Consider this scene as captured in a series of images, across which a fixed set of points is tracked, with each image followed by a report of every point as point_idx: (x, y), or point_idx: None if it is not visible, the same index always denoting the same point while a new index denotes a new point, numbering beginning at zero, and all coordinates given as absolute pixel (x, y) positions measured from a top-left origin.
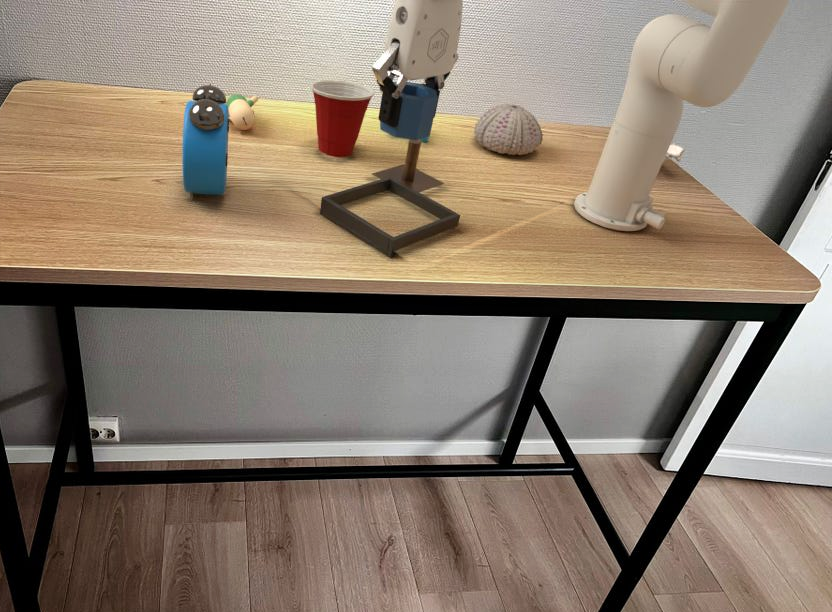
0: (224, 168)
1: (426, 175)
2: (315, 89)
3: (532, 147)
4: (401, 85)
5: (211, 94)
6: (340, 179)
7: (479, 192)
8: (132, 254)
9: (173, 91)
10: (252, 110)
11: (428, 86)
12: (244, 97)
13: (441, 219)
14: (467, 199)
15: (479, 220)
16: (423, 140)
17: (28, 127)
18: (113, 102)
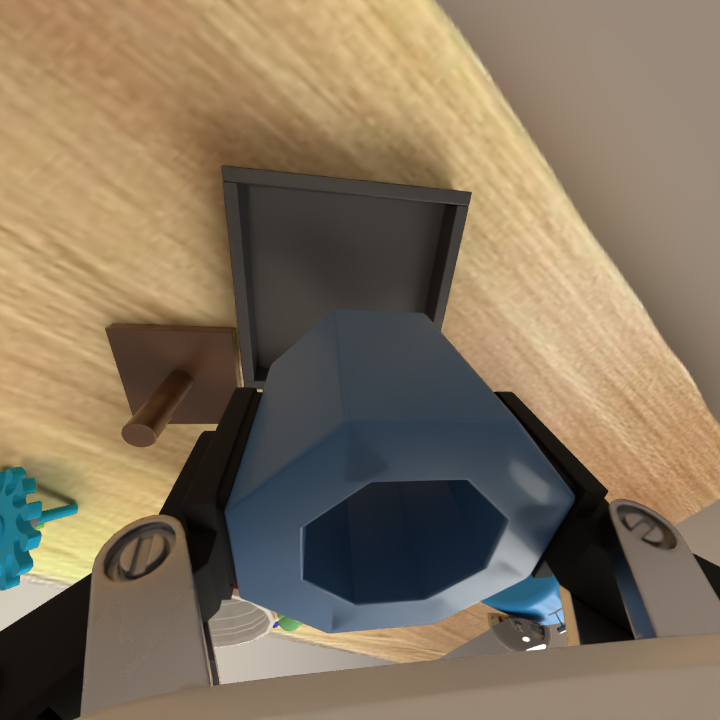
0: None
1: (126, 372)
2: (269, 627)
3: None
4: (680, 588)
5: (546, 634)
6: None
7: (17, 264)
8: (663, 411)
9: (313, 642)
10: None
11: (221, 566)
12: (280, 624)
13: (291, 184)
14: (82, 258)
15: (127, 165)
16: (21, 471)
17: (496, 611)
18: (391, 633)
